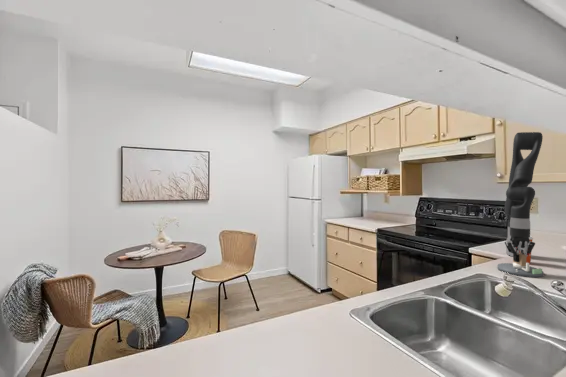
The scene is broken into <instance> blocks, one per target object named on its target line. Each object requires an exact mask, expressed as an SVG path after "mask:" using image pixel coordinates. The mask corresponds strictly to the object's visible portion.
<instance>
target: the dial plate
mask: <svg viewBox="0 0 566 377" xmlns="http://www.w3.org/2000/svg"><path fill="white" fill-rule="evenodd" d="M496 268H497V270H498V271H500V272H502V271H503V272H502V273H505V272H508V273H509V274H510V273H511V274H510V275H513V274H514V275H513V276H517V277H522V278H523V277H524V278H535V279H536V278H542V277H544V271H543V268H541V267H539V268H537V267H533V266H530V265H529V272H527V271H525V270H523V269H517V268H514V267H513V262H512V263H508V262H505V263H503V262H502V263H498V264H497V267H496ZM508 273H507V274H508ZM509 274H508V275H509Z"/></svg>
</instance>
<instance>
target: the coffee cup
mask: <svg viewBox="0 0 566 377" xmlns="http://www.w3.org/2000/svg"><path fill="white" fill-rule="evenodd" d="M529 240H530V241H531V242H533V240H534V237H533V236H532V235H530V237H529ZM516 248H517V247H516ZM528 250H529V249H528ZM519 253H520V251H519ZM531 259H532V252H531V253H530V254H529V253H528V254H527V255H526V263H529V265H530V264H531V261H532V260H531Z"/></svg>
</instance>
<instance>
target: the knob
mask: <svg viewBox="0 0 566 377" xmlns="http://www.w3.org/2000/svg"><path fill="white" fill-rule="evenodd" d="M512 264H513V267H514V268H517V269H523V270H525V271H527V272H529V266H530V264H529V263H526V255H524V254H522V253H519V262H515V261H514V260H513V259H512Z"/></svg>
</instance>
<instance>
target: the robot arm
mask: <svg viewBox="0 0 566 377" xmlns="http://www.w3.org/2000/svg"><path fill="white" fill-rule="evenodd" d="M512 144H513V145H512V160H511V166H510V172H509V177H508V178H509V179H508V186H507V187H508V188H507V189H506V192H505V196H506V199H505V203H504V209H503V210H504V213H505V215H507V216H510V220H509V221H508V222H507V238H506V241H504V245H505V248H506V253H507V254H508V255H507V254H506V255H507V256H509V255H510V256H509V257H512V261H513V260H514V261H515V262H519V251H520V253H522V254H524V255H527V254H528V253H529V254H530V253H531V254H532V251H533V249H534V247H535V245H536V242H533V241H532V242H531V241H530V240H529V237H530V236H531V219H530V218H531V216H530V215H531V214H530V213H531V212H530V211H531V207H532V203H533V201H534V198H535V196H536V190H535V189H534V188H533V187H531V186H530V185H531V184H532V183H533V182H532V181H533V177H534V171H535V167H536V163H537V161H538V158H539V154H540V151H541V148H542V145H543V134H542V132H539V131H536V132H535V131H527V132H526V131H525V132H524V131H523V132H517V133H516V134H514V138H513V143H512ZM522 151H531V152H530V153H529V154H528V155H527V156H526V157H525V158H524V157H523V154H522ZM516 247H517V248H516ZM528 249H529V250H528Z"/></svg>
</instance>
